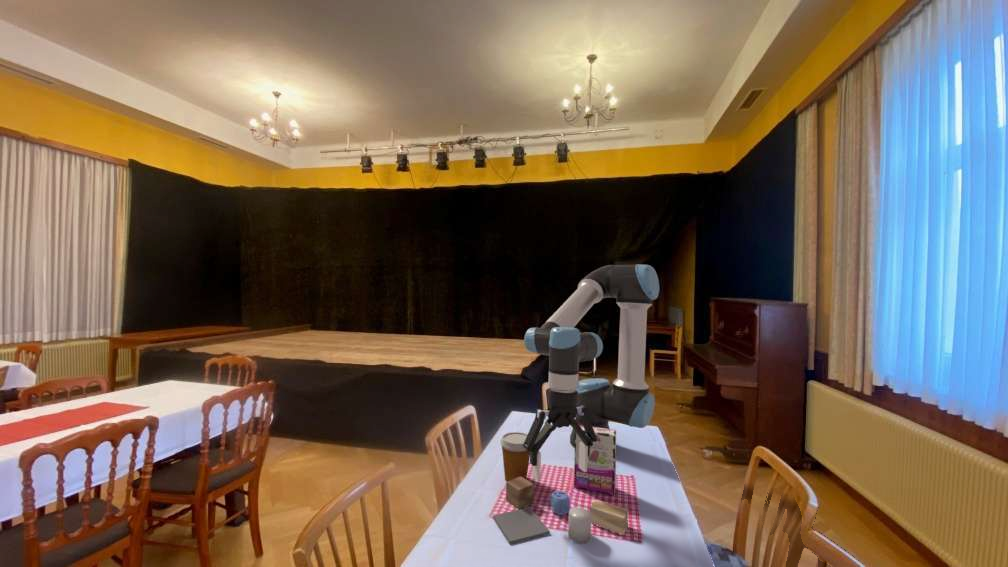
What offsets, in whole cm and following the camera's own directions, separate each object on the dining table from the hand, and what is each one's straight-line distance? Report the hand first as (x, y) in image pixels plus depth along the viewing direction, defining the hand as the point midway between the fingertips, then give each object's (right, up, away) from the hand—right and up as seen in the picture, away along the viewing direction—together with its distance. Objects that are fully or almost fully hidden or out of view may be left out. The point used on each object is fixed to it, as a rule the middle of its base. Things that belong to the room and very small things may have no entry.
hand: (560, 473), depth 95 cm
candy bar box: (+11, -10, +12) cm, 19 cm away
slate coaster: (-10, -9, -6) cm, 15 cm away
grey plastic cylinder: (+3, -9, -9) cm, 14 cm away
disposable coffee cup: (-11, -9, +15) cm, 21 cm away
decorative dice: (0, -10, 0) cm, 10 cm away
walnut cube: (-10, -9, +4) cm, 14 cm away
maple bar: (+11, -10, -5) cm, 15 cm away
